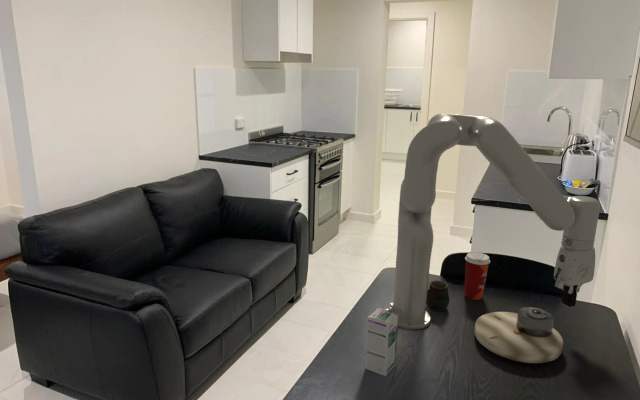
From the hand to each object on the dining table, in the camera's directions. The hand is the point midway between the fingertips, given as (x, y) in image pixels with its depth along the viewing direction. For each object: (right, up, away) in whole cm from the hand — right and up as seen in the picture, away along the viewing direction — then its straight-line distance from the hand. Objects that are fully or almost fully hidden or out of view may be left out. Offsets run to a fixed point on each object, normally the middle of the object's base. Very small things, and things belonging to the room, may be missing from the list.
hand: (568, 304), depth 133 cm
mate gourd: (-33, -5, +15) cm, 36 cm away
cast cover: (-11, -6, -2) cm, 12 cm away
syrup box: (-54, -13, -14) cm, 57 cm away
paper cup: (-19, -3, +24) cm, 30 cm away
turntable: (-16, -9, -3) cm, 18 cm away
